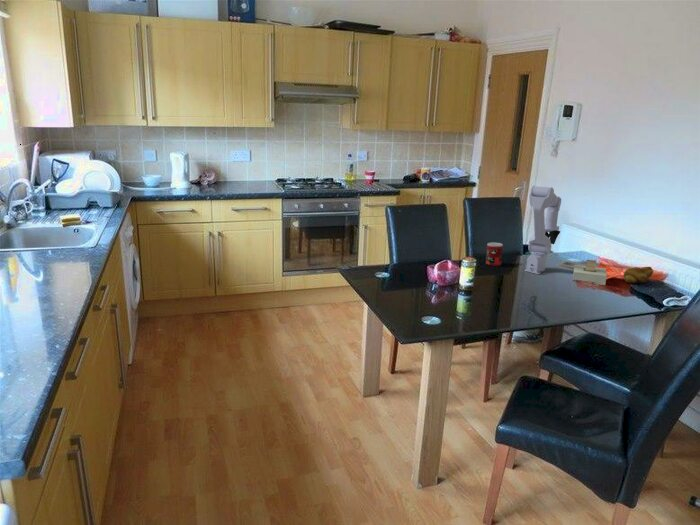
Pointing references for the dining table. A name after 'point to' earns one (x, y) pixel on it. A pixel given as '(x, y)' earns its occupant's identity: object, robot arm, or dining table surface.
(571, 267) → the stand
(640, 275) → the bread roll
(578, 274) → the socket
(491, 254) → the canned food
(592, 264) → the peg
